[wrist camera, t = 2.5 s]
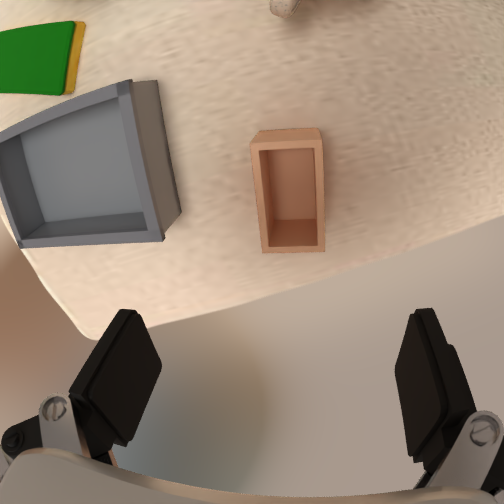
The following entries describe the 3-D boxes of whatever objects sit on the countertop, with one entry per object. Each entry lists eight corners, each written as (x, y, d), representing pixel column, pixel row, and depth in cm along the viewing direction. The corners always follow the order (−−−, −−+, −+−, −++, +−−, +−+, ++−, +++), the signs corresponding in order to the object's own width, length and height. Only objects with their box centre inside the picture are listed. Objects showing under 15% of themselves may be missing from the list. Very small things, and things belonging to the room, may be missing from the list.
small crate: (317, 127, 22) (322, 139, 18) (321, 221, 26) (324, 251, 22) (259, 131, 23) (249, 143, 19) (268, 223, 27) (262, 253, 23)
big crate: (158, 77, 22) (127, 79, 17) (183, 214, 28) (162, 241, 24) (17, 127, 25) (-15, 140, 21) (46, 226, 31) (19, 248, 27)
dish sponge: (4, 32, 19) (-11, 34, 17) (89, 22, 19) (73, 20, 17) (-4, 89, 23) (-18, 93, 21) (76, 92, 23) (60, 96, 21)
